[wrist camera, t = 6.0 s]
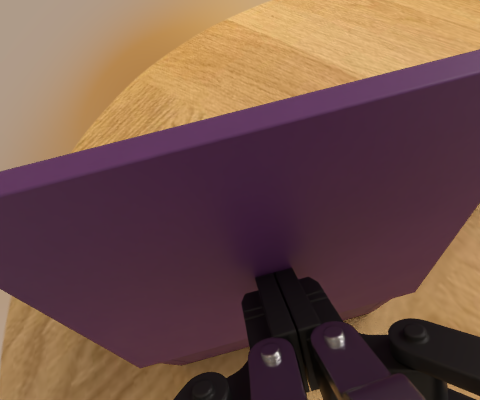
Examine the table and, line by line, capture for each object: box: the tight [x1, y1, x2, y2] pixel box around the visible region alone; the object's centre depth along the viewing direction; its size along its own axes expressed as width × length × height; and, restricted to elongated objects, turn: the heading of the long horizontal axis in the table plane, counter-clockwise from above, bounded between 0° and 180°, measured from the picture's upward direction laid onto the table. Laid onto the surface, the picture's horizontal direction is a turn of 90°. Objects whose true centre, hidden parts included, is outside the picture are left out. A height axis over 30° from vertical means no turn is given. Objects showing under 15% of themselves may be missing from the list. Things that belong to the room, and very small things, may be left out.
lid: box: [0, 50, 480, 368], centre depth 13 cm, size 14×16×1 cm
